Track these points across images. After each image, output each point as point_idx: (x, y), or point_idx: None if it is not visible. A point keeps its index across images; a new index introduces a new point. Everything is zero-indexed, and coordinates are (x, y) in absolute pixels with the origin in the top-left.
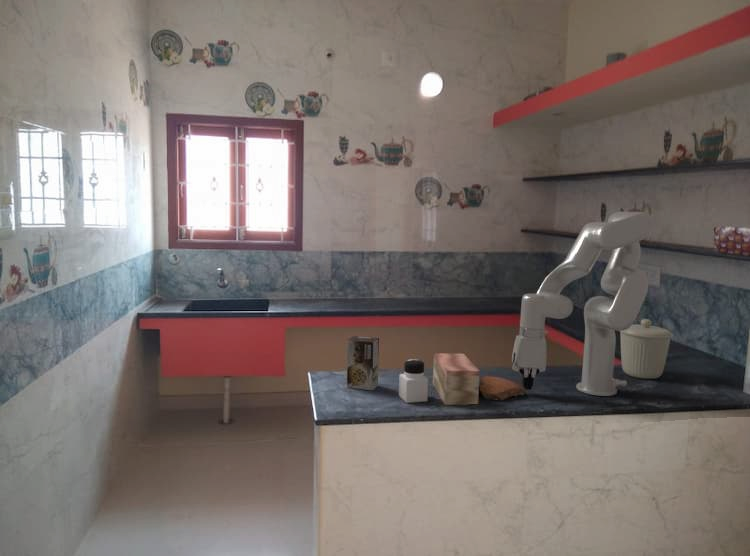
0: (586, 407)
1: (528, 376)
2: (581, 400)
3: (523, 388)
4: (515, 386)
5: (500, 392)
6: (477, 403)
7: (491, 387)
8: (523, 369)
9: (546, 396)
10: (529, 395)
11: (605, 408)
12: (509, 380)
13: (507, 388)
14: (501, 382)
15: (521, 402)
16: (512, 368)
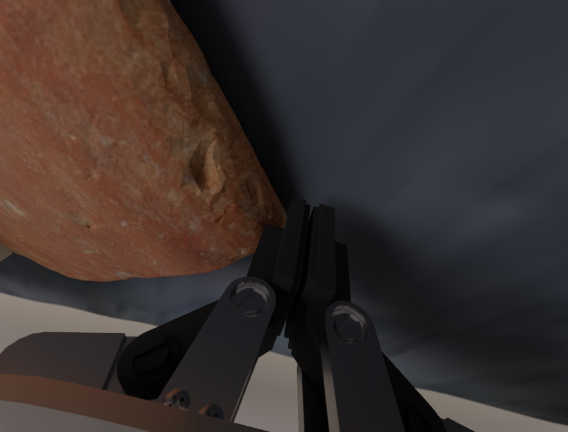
0: (445, 386)
1: (303, 307)
2: (530, 351)
3: (250, 253)
4: (171, 269)
5: (74, 278)
6: (5, 255)
7: (1, 236)
8: (215, 370)
9: (402, 266)
10: None
11: (509, 409)
12: (154, 136)
13: (109, 276)
14: (52, 214)
15: (208, 284)
16: (14, 360)
